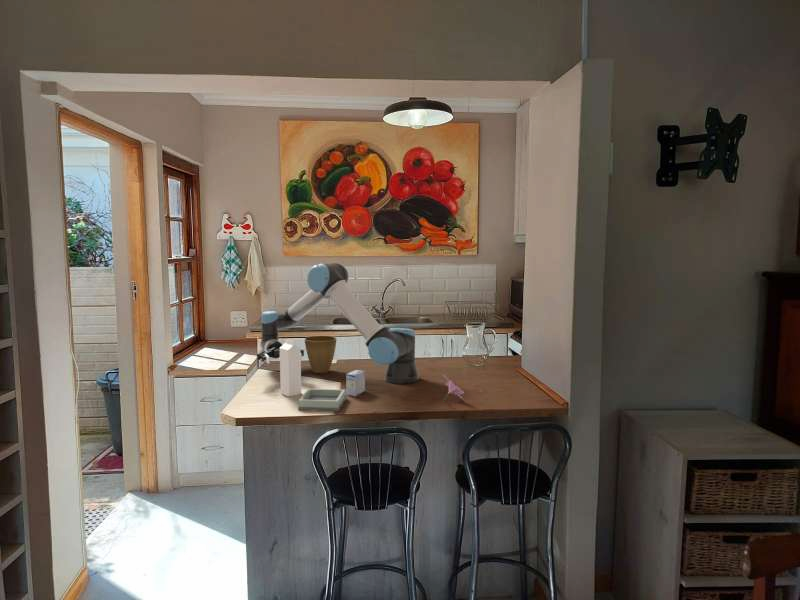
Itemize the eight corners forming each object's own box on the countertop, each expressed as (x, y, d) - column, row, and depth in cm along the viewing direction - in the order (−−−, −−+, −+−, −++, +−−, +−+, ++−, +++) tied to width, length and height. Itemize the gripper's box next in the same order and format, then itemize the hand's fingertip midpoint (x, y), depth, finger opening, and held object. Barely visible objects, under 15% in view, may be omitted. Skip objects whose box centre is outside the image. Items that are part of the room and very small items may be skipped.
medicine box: (355, 389, 211) (355, 369, 210) (365, 391, 210) (365, 370, 208) (346, 395, 204) (345, 374, 203) (355, 396, 202) (355, 375, 201)
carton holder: (345, 398, 200) (345, 389, 199) (338, 411, 185) (338, 401, 185) (308, 397, 201) (308, 388, 200) (298, 410, 186) (298, 400, 186)
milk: (292, 390, 210) (291, 338, 208) (301, 393, 206) (300, 340, 204) (280, 393, 206) (279, 340, 203) (288, 396, 202) (287, 342, 199)
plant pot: (340, 373, 236) (340, 339, 234) (309, 377, 231) (308, 342, 229) (332, 366, 250) (331, 334, 248) (302, 369, 244) (301, 336, 242)
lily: (463, 409, 191) (472, 385, 192) (434, 396, 191) (444, 373, 193) (458, 409, 202) (467, 386, 204) (431, 396, 203) (440, 374, 205)
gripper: (301, 354, 238) (314, 364, 219) (246, 359, 228) (254, 370, 209) (301, 338, 237) (313, 347, 218) (246, 342, 227) (254, 352, 208)
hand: (284, 358), depth 213 cm, fingers open, 13 cm apart
